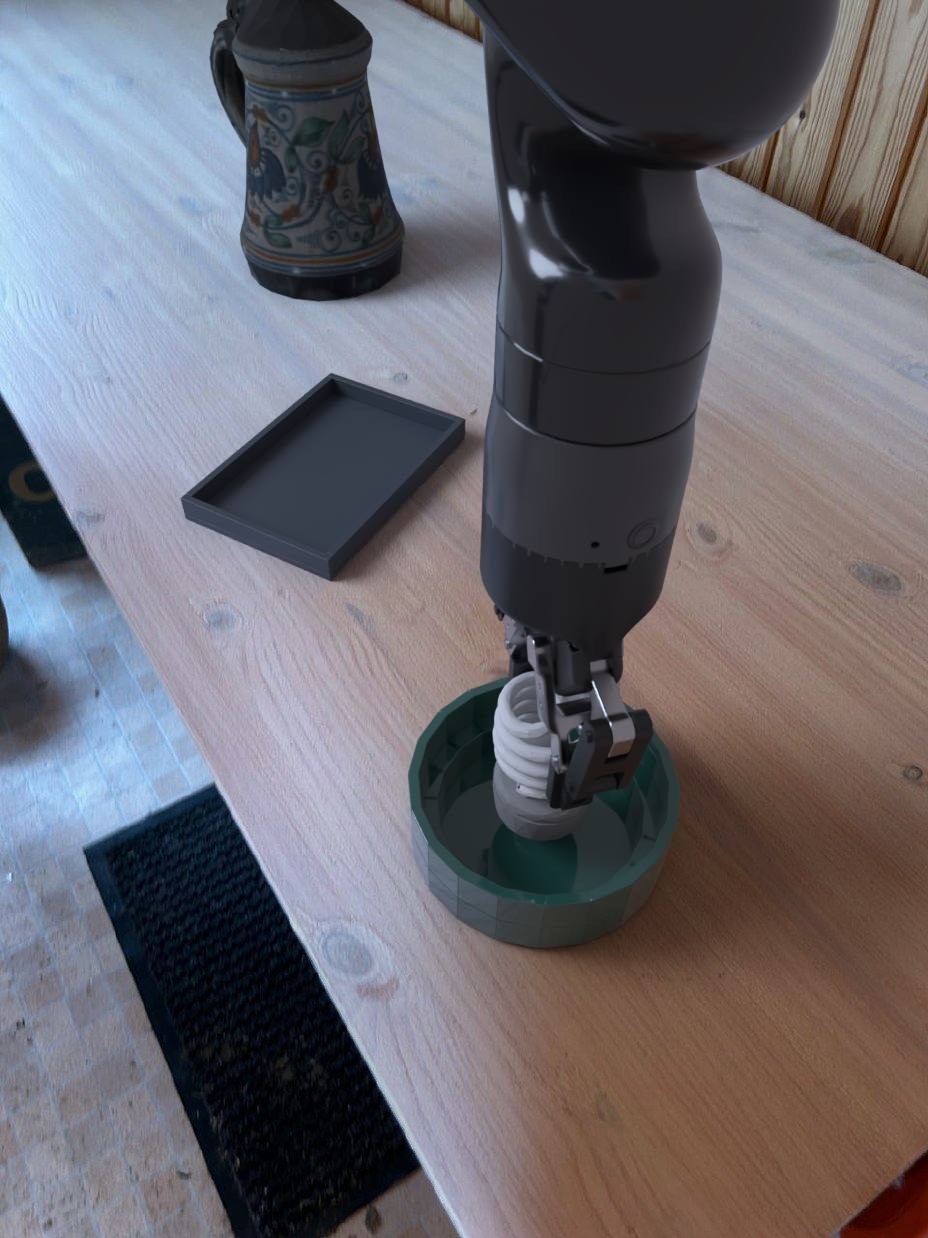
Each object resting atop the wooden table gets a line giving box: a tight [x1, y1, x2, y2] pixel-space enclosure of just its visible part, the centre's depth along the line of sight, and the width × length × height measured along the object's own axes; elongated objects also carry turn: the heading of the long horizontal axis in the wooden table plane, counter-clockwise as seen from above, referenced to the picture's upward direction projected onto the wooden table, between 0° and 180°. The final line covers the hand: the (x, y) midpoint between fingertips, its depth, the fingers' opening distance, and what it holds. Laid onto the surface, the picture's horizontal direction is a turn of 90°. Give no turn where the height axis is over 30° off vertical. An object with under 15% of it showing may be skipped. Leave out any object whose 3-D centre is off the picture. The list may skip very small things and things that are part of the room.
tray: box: [180, 372, 466, 582], centre depth 75 cm, size 19×13×2 cm
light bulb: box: [493, 671, 590, 841], centre depth 50 cm, size 6×6×12 cm
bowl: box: [407, 676, 681, 949], centre depth 53 cm, size 14×14×5 cm
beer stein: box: [209, 0, 406, 302], centre depth 90 cm, size 16×19×25 cm
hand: (547, 747), depth 49 cm, fingers closed on light bulb, 5 cm apart
